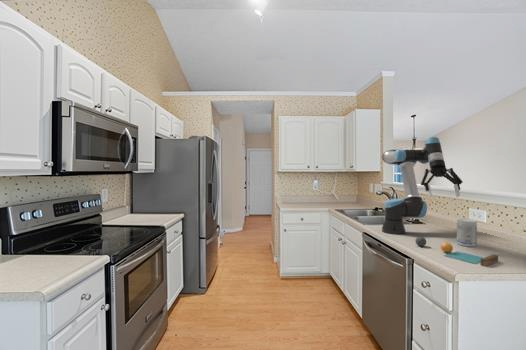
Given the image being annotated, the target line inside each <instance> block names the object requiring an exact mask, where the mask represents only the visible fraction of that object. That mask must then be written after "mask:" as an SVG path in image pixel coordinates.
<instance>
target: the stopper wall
mask: <svg viewBox="0 0 526 350" xmlns="http://www.w3.org/2000/svg"><path fill="white" fill-rule="evenodd" d="M498 262H499V255H497V254H491V255H488V256H485V257H484V258H482V259H481V262H480V266H481V267H489V266H490V265H491V266H492V265H493V264H496V263H498Z"/></svg>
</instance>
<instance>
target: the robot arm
mask: <svg viewBox="0 0 526 350" xmlns="http://www.w3.org/2000/svg"><path fill="white" fill-rule="evenodd" d="M424 145H425V146H424V147H423V148H422V149H420V148H419V149H408V148H407V149H389V150H385V151H384V152H383V153H382V156H381V159H382V161H383V162H384V163H386V164H388V165H395V166H396V165H397V168H399V170H400V173H401V179H402V184H403V189H404V190H403V191H404V196H405V197H404V199H403V198H391V199H387V200H386V201H384V221H383V225H382V227H381V232H383V233H385V234H391V235H404V234H406V228H405V224H404V222H403V221H404V220H403V219H404V218H410V219H411V218H416V219H418V218H419V219H420V218H422V219H423V218H424V217H425V216H426V215H427V212H428V204H427V202H426V201H424V200H423V198H422V197H421V196H420V195H419V190H418V185H417V184H418V183H417V179H416V175H415V170H414V169H415V168H414V167H415V165H416V164H417V162H419V163H420V164H422V165H423V164H424V165H425V164H429V169H428V168H426V169H425V170H424V175H423V178H422V180H421V183H420V186H424V190H425V191H426V192H427V194H428V198H431V197H432V196H433V194H432V190H431V185H430V182H431V181H432V180H433V178H434V177H436V178H446V179H447V180H448V181H449V182H451V183H452V184H453V188H454V192H455V197H457V198H458V197H460V196H461V194H460V191H461V186H460V185H462V184H463V183H464V182H463V180H462V179H461V178H460V177H459V176H458V174H456V172H455V171H454V169H453V167H450V168H447V167H446V163H445V158H444V154H443V151H442V150H443V149H442V145H441V141H440V139H439V137H437V136H430V137H428V138H426V139H425V140H424ZM429 173H430V174H431V176H430V177H429V178H428V180H427V177H428V175H429ZM426 180H427V181H426Z"/></svg>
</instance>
